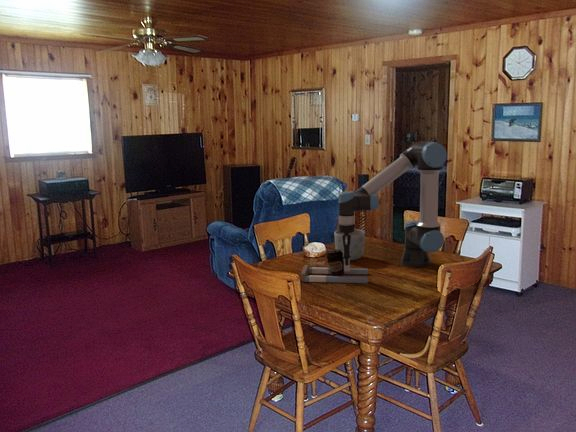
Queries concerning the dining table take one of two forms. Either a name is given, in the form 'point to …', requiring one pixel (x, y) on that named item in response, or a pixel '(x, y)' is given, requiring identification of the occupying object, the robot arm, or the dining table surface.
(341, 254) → the coffee cup
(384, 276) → the dining table surface
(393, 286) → the dining table surface
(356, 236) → the planter
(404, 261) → the robot arm
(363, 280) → the beam slot
